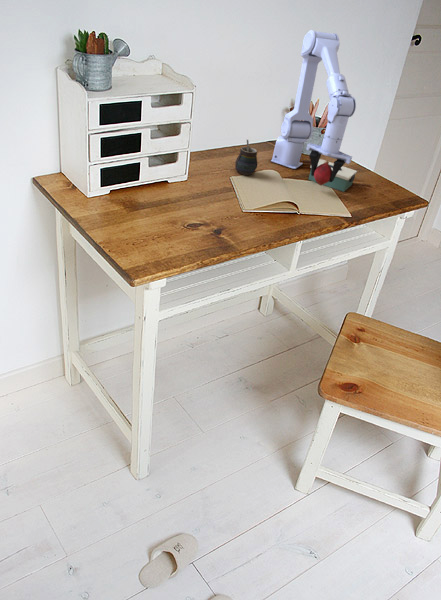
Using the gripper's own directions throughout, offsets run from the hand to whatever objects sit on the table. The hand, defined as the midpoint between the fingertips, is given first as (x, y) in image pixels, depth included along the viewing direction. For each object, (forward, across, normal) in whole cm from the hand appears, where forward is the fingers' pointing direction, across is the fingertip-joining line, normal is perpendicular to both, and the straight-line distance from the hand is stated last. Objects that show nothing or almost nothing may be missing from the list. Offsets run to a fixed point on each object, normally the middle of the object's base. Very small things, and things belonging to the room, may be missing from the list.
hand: (322, 178), depth 178 cm
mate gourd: (+5, -24, -6) cm, 26 cm away
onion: (+3, 0, 0) cm, 3 cm away
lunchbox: (+5, 0, +12) cm, 13 cm away
